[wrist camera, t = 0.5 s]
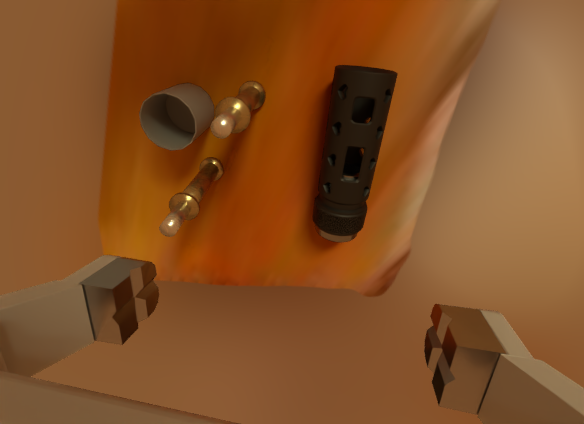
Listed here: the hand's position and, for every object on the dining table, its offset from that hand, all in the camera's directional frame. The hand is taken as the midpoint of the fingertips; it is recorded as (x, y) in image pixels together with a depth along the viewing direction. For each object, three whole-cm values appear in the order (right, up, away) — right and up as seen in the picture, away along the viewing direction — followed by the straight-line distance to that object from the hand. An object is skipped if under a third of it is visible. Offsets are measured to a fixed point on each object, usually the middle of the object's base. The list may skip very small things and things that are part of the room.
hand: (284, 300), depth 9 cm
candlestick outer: (-15, +11, +50) cm, 54 cm away
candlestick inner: (-6, +22, +43) cm, 49 cm away
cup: (-17, +21, +45) cm, 53 cm away
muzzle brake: (+10, +14, +47) cm, 50 cm away
